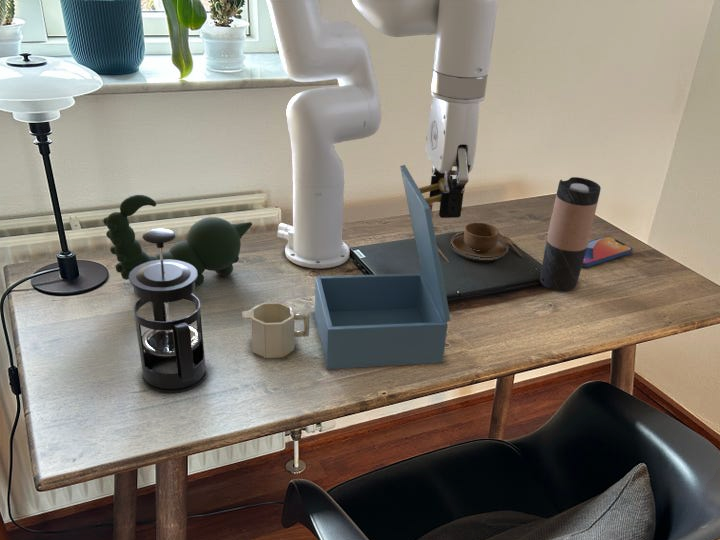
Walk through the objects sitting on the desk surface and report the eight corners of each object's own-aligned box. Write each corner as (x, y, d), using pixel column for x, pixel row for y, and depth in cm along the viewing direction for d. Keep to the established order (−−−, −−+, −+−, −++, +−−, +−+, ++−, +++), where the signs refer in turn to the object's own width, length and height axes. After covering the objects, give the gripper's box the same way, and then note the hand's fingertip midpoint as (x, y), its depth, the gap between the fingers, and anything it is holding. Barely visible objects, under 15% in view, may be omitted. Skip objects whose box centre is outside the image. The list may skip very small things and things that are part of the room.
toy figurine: (136, 317, 125) (268, 273, 137) (110, 215, 113) (257, 177, 125) (117, 293, 131) (245, 252, 143) (91, 193, 119) (232, 158, 131)
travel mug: (577, 295, 140) (602, 195, 129) (537, 288, 141) (558, 189, 130) (577, 276, 147) (601, 180, 135) (539, 270, 148) (559, 174, 136)
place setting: (450, 268, 145) (454, 241, 142) (413, 226, 160) (416, 200, 157) (528, 260, 151) (533, 233, 148) (485, 220, 166) (489, 195, 163)
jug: (245, 359, 115) (243, 325, 111) (243, 336, 120) (242, 303, 116) (311, 355, 117) (311, 322, 113) (306, 333, 122) (307, 300, 119)
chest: (326, 369, 114) (327, 329, 110) (314, 313, 127) (315, 276, 123) (442, 362, 118) (448, 324, 114) (419, 309, 131) (423, 273, 127)
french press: (132, 364, 111) (110, 223, 98) (192, 348, 116) (179, 211, 103) (158, 407, 104) (138, 260, 91) (221, 388, 108) (211, 246, 95)
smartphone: (558, 254, 155) (559, 249, 154) (607, 239, 162) (608, 235, 161) (583, 269, 150) (584, 264, 149) (633, 253, 157) (634, 249, 156)
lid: (424, 209, 102) (466, 197, 102) (400, 166, 115) (437, 155, 116) (445, 322, 114) (483, 311, 114) (421, 271, 127) (455, 261, 127)
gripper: (417, 68, 108) (407, 187, 118) (449, 102, 94) (434, 233, 104) (467, 70, 109) (452, 187, 119) (504, 103, 96) (485, 232, 106)
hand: (444, 207), depth 112 cm, fingers closed on lid, 5 cm apart
